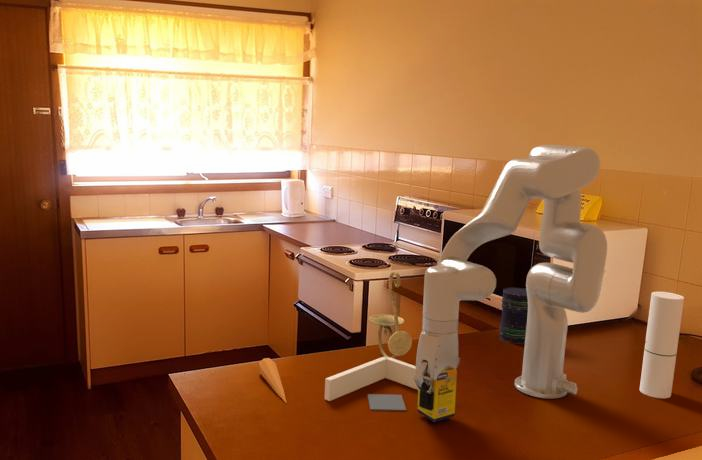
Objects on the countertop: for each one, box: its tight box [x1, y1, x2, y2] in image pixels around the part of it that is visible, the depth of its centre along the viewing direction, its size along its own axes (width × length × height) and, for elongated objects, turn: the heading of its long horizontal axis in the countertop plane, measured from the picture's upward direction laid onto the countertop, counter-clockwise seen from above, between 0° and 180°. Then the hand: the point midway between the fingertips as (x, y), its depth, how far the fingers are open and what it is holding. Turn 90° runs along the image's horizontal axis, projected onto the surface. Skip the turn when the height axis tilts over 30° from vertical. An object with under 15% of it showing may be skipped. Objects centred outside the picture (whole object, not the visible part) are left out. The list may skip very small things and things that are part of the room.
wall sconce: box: [369, 270, 413, 359], centre depth 172 cm, size 14×10×25 cm
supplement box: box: [416, 367, 458, 423], centre depth 139 cm, size 6×6×11 cm
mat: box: [367, 393, 407, 412], centre depth 147 cm, size 8×8×1 cm
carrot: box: [258, 357, 288, 404], centre depth 153 cm, size 20×4×4 cm, turn 21°
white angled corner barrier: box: [324, 355, 418, 402], centre depth 149 cm, size 18×22×5 cm
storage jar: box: [498, 287, 528, 345], centre depth 196 cm, size 10×10×15 cm
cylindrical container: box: [639, 291, 685, 399], centre depth 158 cm, size 7×7×25 cm
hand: (436, 402), depth 140 cm, fingers closed on supplement box, 7 cm apart
